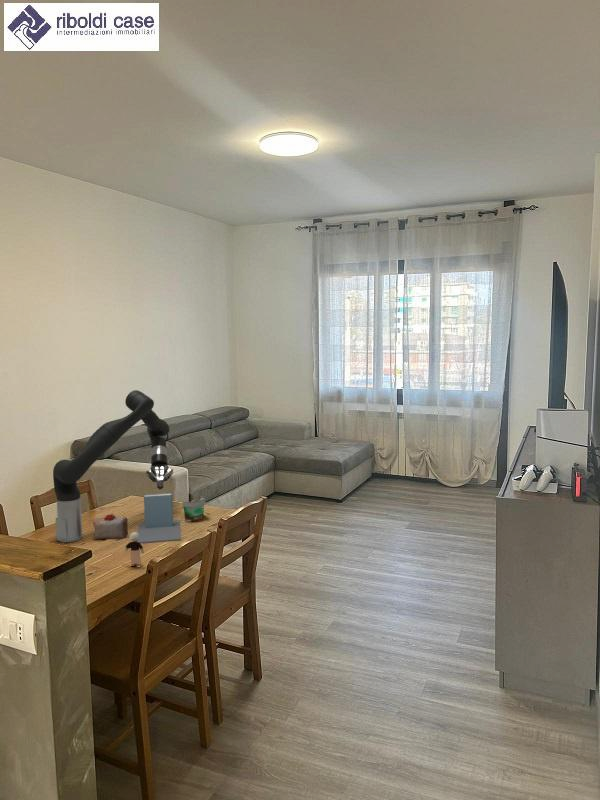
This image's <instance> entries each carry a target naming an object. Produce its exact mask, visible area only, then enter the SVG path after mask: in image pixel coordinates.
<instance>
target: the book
mask: <svg viewBox="0 0 600 800" xmlns="http://www.w3.org/2000/svg"><path fill="white" fill-rule="evenodd" d="M143 506H144V508H143V510H144V511H143V512H144V523H145V528H152V527H165V526H173V521H174V512H173V510H174V509H173V493H172V492H166V493H150V494H149V493H148V494H144V495H143Z"/></svg>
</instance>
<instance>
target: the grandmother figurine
mask: <svg viewBox="0 0 600 800" xmlns="http://www.w3.org/2000/svg"><path fill="white" fill-rule="evenodd" d="M138 536H139V535H138V531H137V532H136V531H134V532H132V533H131V534H130V535H129V537H128V539H129V540H131V541H130V542H129V543H126V545H125V549H124V551H125V552H128V550H130V563H131V565H130V567H131V566H135V565H136V566H141V567H143V566H144V564H143V563H142V559H141V558H142V557H141V554H145V551H144V547H143V544H140V543H139V542H136V541H137V540H138ZM142 565H143V566H142ZM136 566H135V567H136Z"/></svg>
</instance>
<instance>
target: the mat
mask: <svg viewBox="0 0 600 800" xmlns="http://www.w3.org/2000/svg"><path fill="white" fill-rule="evenodd" d="M181 531H182V530H181V520H180V519H177V520H173V526H165V527H152V528H145V522H139V523H138V528H137V533H138V535H139V536H138V540H137V541H136V542H139V543H140V544H141V543H142V544H151V543H152V544H153V543H162V542H163V543H165V542H167V543H168V542H176V541H182V532H181ZM142 544H141V545H142Z"/></svg>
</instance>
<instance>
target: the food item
mask: <svg viewBox="0 0 600 800" xmlns="http://www.w3.org/2000/svg"><path fill="white" fill-rule="evenodd" d="M92 524H93V527H94V539H95V540H97V539H98V540H108V539H125V538H127V536H128V535H129V530H128V529H129V528H128V517H125V516H124V517H121V516H120V517H116V516H115V515H114V513H111V514H106V515H105V517H98V518H96V519H95V520H93V522H92Z"/></svg>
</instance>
